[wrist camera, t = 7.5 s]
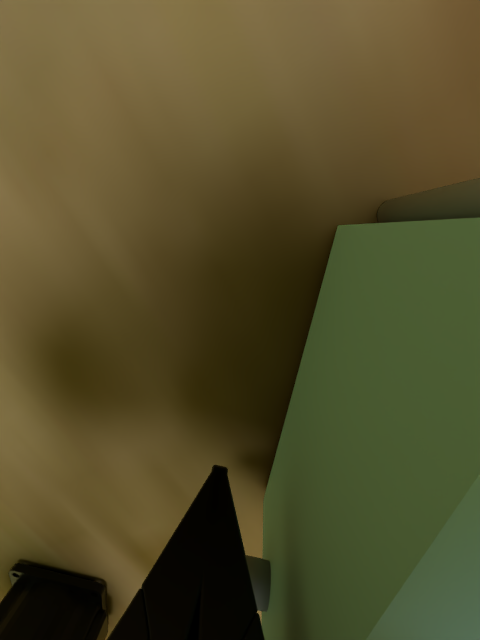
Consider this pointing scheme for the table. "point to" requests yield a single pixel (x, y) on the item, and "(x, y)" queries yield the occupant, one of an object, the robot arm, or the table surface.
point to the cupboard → (434, 204)
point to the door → (381, 447)
